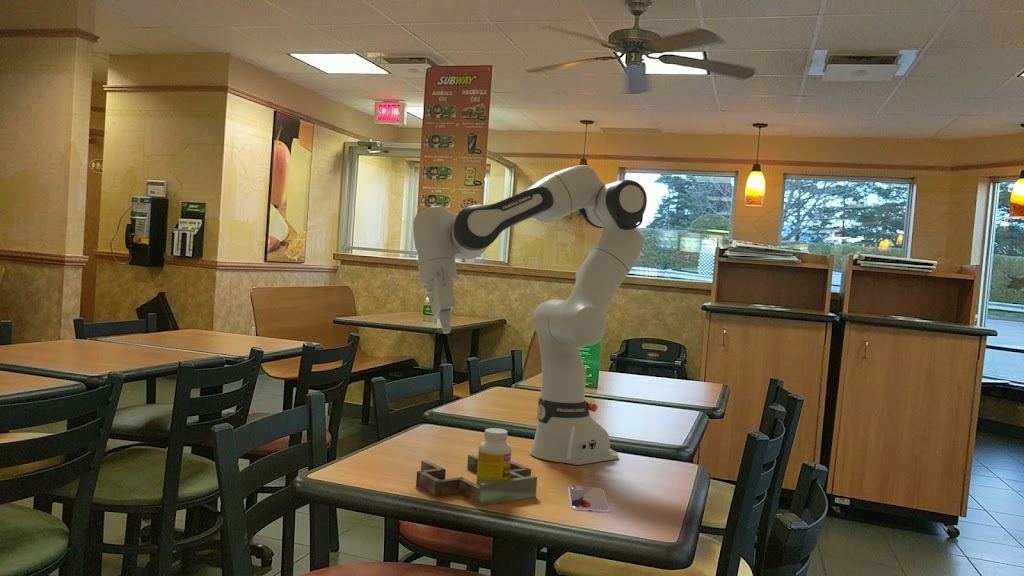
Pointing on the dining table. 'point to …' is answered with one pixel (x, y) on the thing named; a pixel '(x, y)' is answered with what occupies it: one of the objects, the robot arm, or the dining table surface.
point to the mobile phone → (587, 499)
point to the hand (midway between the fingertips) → (447, 332)
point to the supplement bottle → (494, 457)
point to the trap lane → (482, 494)
